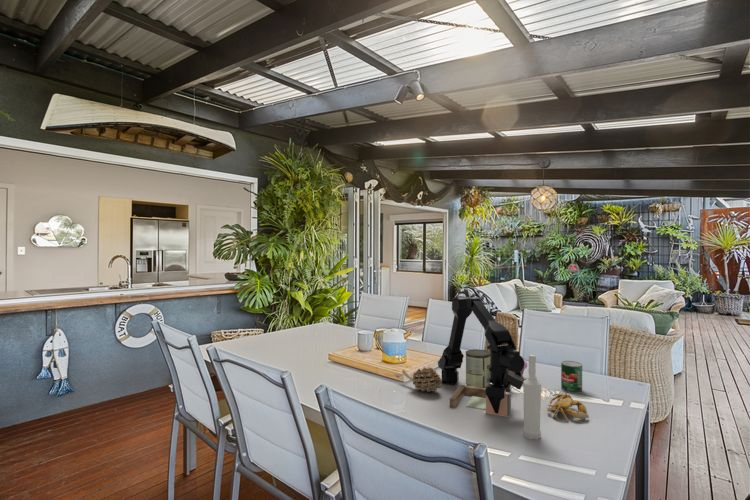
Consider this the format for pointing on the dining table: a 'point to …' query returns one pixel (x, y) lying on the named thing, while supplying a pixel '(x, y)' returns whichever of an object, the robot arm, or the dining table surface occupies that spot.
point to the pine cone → (425, 379)
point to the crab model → (567, 406)
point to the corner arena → (474, 401)
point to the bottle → (532, 402)
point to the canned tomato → (571, 377)
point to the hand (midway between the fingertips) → (498, 408)
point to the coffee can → (477, 368)
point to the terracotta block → (504, 406)
